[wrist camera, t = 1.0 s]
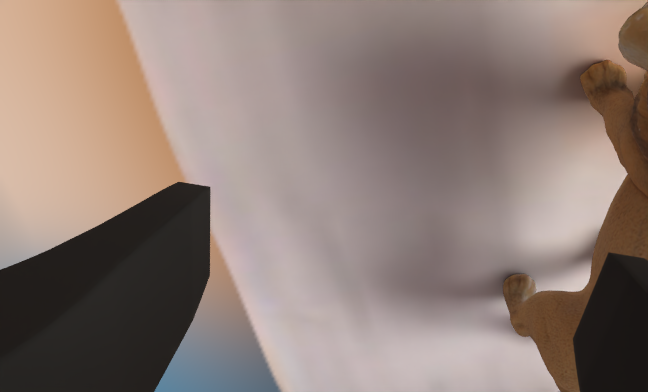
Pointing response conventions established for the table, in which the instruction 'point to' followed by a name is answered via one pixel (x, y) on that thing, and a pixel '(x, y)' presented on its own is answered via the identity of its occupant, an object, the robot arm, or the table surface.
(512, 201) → the table surface
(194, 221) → the robot arm
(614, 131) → the lion figurine
